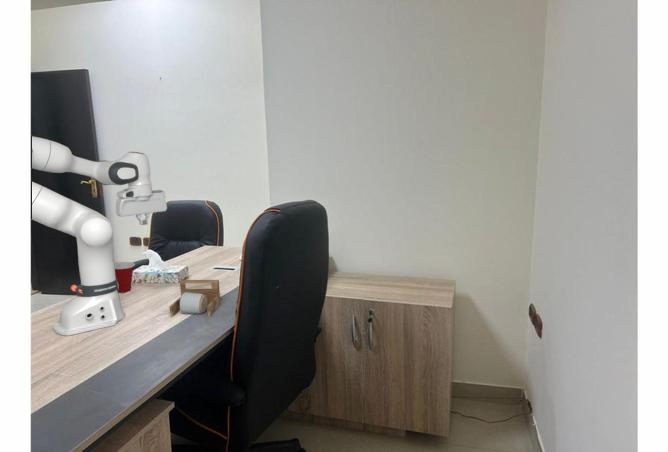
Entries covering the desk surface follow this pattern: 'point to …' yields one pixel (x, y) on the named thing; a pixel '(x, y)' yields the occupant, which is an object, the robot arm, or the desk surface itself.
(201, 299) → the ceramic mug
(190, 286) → the display bay
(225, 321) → the desk surface
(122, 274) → the plastic cup
